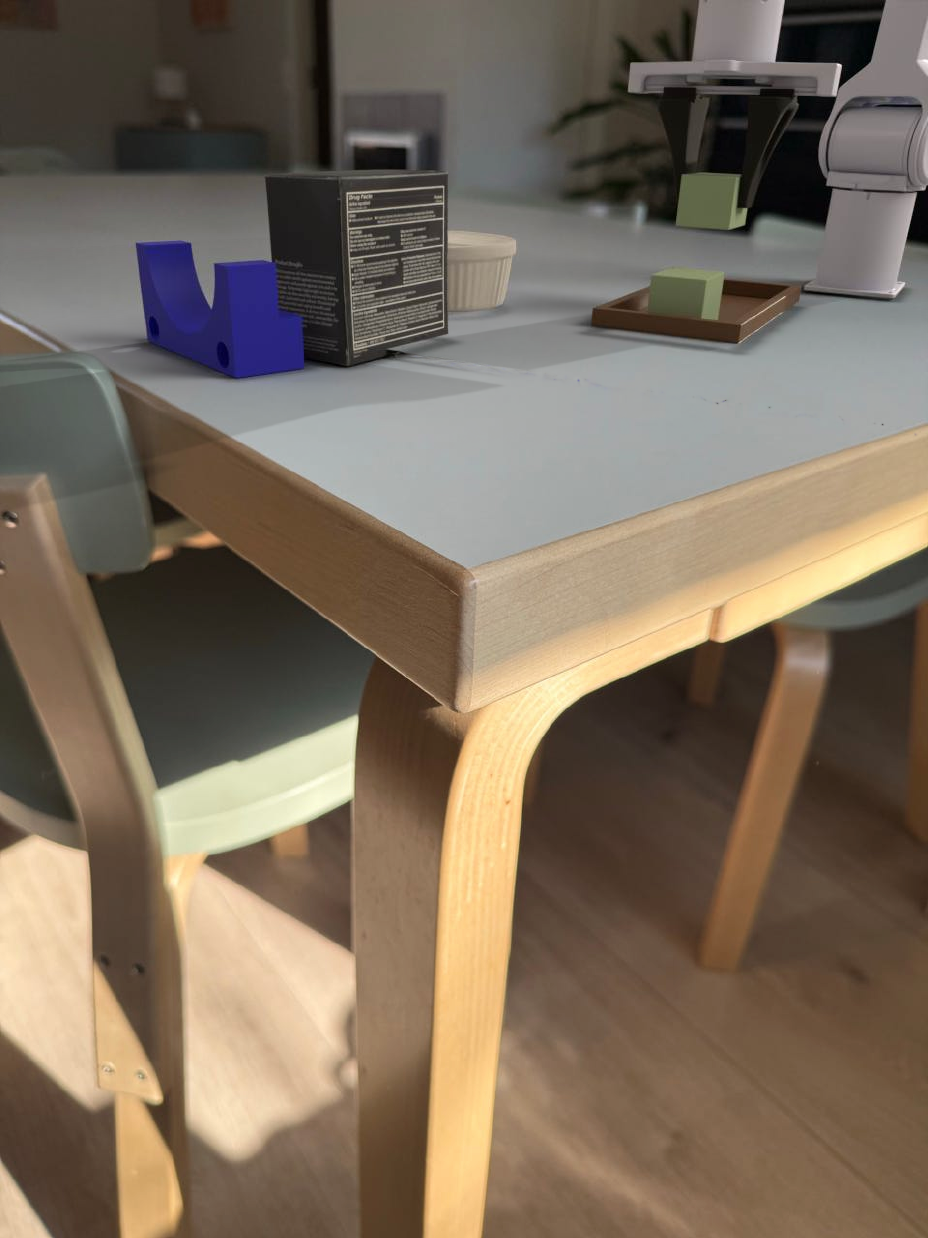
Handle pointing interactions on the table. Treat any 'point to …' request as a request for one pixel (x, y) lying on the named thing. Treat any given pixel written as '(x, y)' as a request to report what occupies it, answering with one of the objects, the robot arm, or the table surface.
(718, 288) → the green rectangular block
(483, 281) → the ramekin
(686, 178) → the olive green block
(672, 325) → the tray
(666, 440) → the table surface
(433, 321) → the small box
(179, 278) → the cable clip
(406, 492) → the table surface
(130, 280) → the table surface
